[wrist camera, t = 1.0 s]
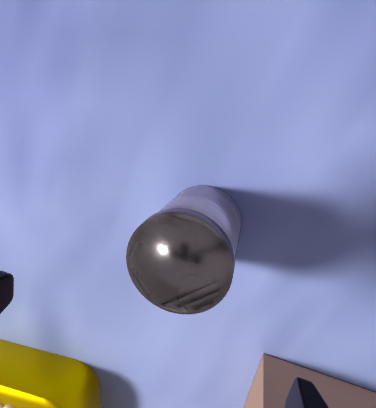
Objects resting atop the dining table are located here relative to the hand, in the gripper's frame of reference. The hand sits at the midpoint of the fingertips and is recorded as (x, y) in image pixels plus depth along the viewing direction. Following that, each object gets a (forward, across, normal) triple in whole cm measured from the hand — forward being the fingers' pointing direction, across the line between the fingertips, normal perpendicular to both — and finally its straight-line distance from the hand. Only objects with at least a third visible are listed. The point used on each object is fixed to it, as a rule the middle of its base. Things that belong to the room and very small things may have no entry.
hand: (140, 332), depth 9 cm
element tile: (+11, +12, +23) cm, 28 cm away
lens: (+10, 0, 0) cm, 10 cm away
